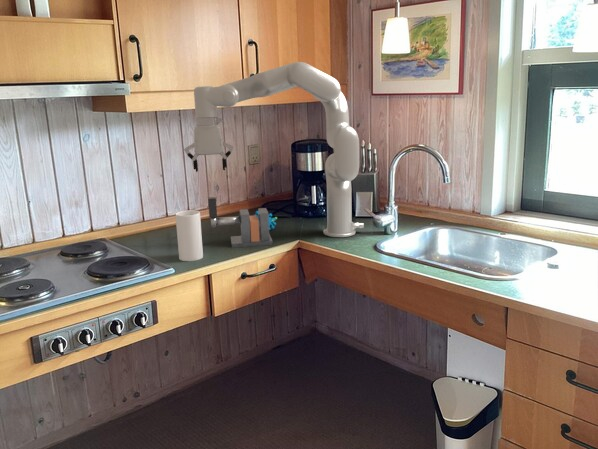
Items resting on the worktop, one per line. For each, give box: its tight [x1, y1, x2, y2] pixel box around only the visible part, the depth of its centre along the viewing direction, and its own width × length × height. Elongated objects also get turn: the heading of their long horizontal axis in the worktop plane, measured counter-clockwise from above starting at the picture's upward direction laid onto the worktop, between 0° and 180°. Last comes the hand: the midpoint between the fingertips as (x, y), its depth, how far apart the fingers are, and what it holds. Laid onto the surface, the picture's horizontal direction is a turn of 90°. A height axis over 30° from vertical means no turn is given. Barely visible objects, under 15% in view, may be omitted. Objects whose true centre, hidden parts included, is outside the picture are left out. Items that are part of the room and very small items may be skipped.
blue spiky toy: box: [254, 210, 278, 232], centre depth 228 cm, size 11×6×10 cm
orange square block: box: [249, 214, 259, 242], centre depth 207 cm, size 3×8×8 cm, turn 9°
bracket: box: [230, 207, 274, 249], centre depth 207 cm, size 15×10×12 cm, turn 99°
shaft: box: [207, 196, 241, 228], centre depth 204 cm, size 12×4×11 cm, turn 99°
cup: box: [175, 209, 204, 262], centre depth 191 cm, size 8×8×16 cm
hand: (210, 170), depth 199 cm, fingers open, 9 cm apart
